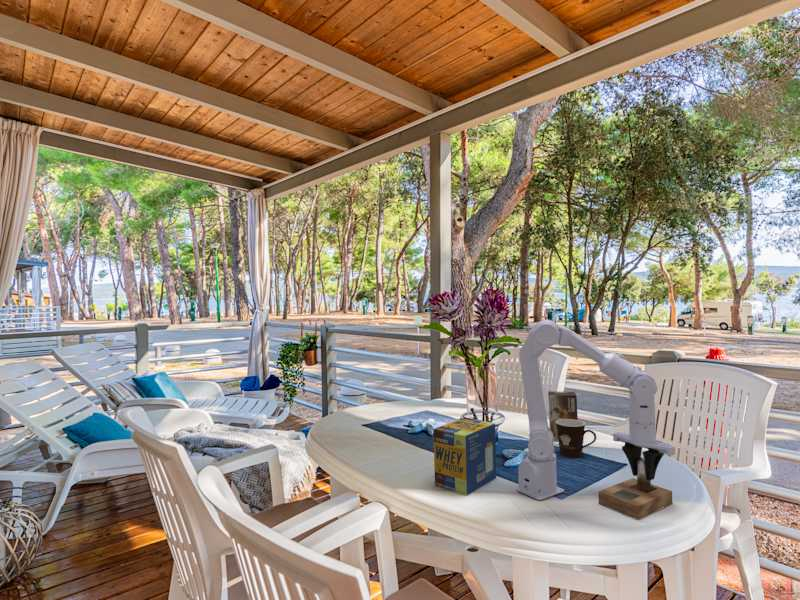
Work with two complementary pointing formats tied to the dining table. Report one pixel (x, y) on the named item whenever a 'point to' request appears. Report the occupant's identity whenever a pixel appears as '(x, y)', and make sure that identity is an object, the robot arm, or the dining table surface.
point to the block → (635, 498)
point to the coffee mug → (571, 437)
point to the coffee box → (561, 408)
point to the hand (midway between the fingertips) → (643, 477)
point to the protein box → (464, 455)
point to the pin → (642, 473)
